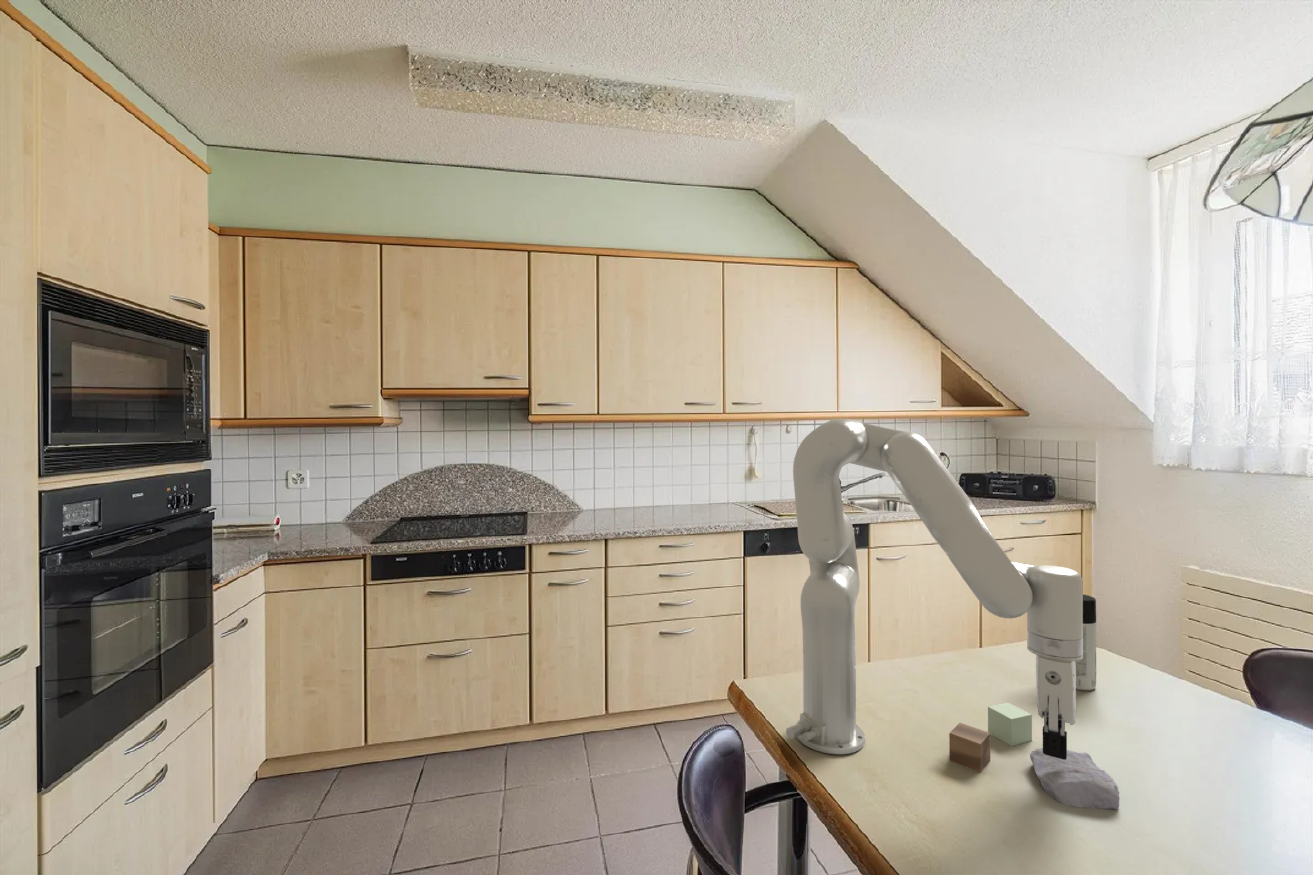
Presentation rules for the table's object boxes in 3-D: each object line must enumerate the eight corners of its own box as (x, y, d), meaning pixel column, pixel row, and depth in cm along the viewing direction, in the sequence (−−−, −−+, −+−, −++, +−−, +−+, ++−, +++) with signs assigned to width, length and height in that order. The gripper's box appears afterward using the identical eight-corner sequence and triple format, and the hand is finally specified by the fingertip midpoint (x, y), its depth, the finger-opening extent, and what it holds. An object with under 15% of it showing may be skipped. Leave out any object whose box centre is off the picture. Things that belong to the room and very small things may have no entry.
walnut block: (980, 773, 98) (980, 743, 98) (949, 760, 101) (949, 732, 101) (990, 761, 101) (990, 732, 101) (959, 749, 105) (959, 722, 105)
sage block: (1011, 746, 106) (1011, 719, 106) (987, 732, 111) (988, 706, 111) (1031, 741, 107) (1031, 714, 107) (1007, 727, 112) (1007, 702, 112)
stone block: (1056, 817, 89) (1129, 812, 87) (1049, 785, 90) (1121, 780, 88) (1024, 774, 101) (1087, 769, 99) (1018, 746, 101) (1081, 741, 99)
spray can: (1104, 691, 127) (1104, 600, 126) (1072, 691, 127) (1073, 600, 126) (1082, 678, 133) (1082, 591, 133) (1052, 678, 133) (1052, 592, 133)
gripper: (1082, 664, 86) (1083, 786, 87) (1083, 634, 98) (1083, 741, 99) (1023, 653, 91) (1023, 769, 91) (1030, 625, 103) (1030, 728, 103)
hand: (1054, 754), depth 95 cm, fingers closed
